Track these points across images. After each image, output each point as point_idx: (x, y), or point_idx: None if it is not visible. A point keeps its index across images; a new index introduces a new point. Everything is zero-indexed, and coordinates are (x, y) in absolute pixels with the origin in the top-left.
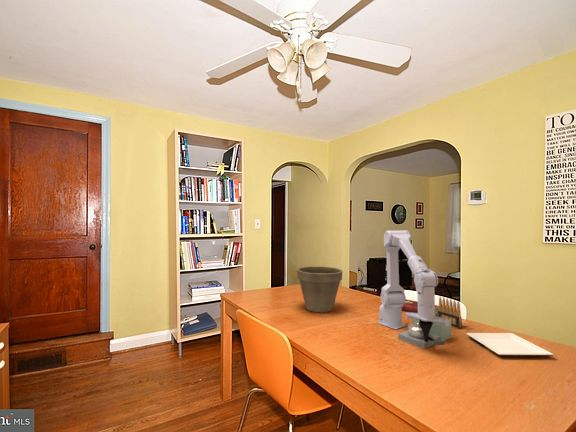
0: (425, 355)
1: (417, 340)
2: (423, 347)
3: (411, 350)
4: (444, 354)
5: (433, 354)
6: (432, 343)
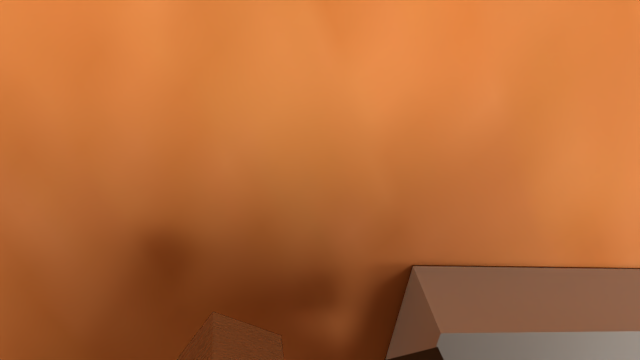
0: (303, 59)
1: (566, 343)
2: (432, 276)
3: (573, 58)
4: (114, 317)
5: (224, 200)
6: (244, 349)
